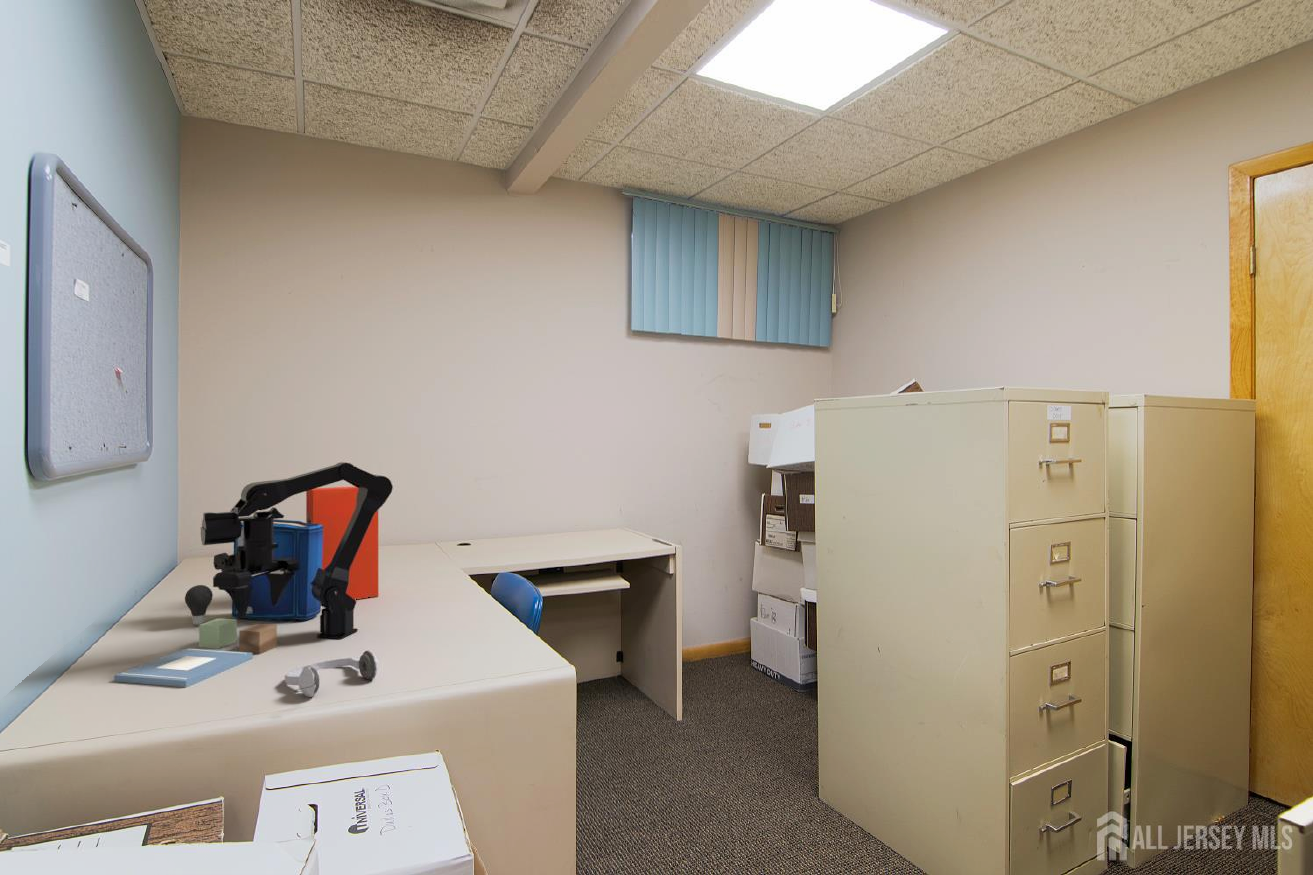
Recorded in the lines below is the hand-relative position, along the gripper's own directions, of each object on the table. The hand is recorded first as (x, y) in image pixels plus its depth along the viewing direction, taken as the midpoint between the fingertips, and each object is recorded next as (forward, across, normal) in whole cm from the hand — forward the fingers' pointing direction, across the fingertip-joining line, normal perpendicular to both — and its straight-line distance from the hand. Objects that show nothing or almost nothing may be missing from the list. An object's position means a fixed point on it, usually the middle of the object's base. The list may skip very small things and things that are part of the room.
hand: (258, 610), depth 144 cm
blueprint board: (+8, +13, -5) cm, 16 cm away
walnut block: (+9, 0, 0) cm, 9 cm away
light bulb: (+9, -13, -28) cm, 32 cm away
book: (+9, -23, -14) cm, 28 cm away
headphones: (+9, +15, +28) cm, 33 cm away
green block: (+9, -2, -12) cm, 15 cm away
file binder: (+9, -43, -10) cm, 45 cm away
